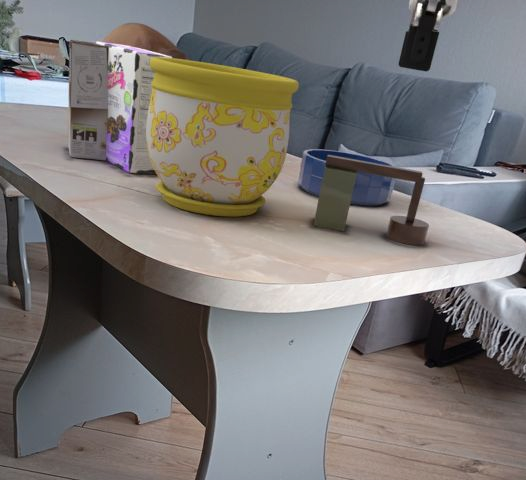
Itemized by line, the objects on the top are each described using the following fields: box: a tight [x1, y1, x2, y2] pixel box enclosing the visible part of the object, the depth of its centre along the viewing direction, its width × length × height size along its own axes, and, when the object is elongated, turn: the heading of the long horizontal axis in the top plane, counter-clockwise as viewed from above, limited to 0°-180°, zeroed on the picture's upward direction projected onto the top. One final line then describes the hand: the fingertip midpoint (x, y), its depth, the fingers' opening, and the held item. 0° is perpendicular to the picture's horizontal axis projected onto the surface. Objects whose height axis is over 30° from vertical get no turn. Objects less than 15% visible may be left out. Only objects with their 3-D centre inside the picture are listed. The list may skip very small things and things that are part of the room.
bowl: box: [297, 148, 397, 207], centre depth 100 cm, size 15×15×6 cm
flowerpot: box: [146, 57, 300, 218], centre depth 78 cm, size 18×18×16 cm
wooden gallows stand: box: [326, 155, 430, 246], centre depth 79 cm, size 14×5×9 cm, turn 81°
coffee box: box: [67, 39, 109, 162], centre depth 95 cm, size 9×6×16 cm
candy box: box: [95, 41, 172, 175], centre depth 92 cm, size 14×6×16 cm, turn 36°
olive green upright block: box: [313, 166, 357, 232], centre depth 80 cm, size 4×4×7 cm
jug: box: [101, 22, 190, 60], centre depth 112 cm, size 20×20×30 cm
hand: (412, 69), depth 73 cm, fingers open, 9 cm apart
